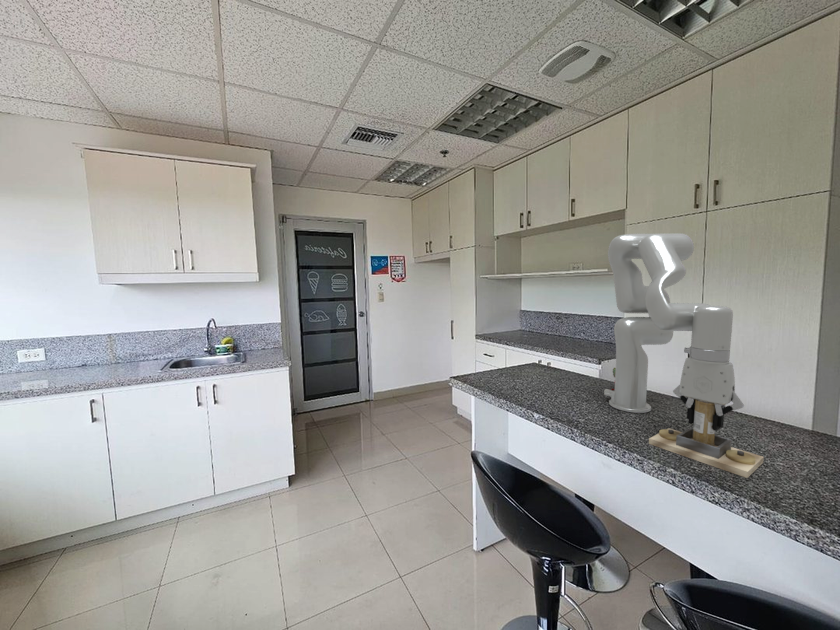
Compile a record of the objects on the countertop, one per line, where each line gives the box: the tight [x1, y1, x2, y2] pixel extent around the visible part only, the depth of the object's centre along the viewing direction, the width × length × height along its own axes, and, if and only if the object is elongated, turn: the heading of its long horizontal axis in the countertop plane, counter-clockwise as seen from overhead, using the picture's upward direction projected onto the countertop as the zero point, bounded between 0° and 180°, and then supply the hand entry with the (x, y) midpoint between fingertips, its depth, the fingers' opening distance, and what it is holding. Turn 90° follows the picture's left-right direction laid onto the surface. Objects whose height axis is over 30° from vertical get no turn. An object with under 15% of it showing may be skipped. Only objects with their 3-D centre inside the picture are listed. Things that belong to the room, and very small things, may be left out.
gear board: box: [648, 427, 765, 479], centre depth 89 cm, size 20×12×4 cm, turn 33°
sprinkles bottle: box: [692, 399, 716, 446], centre depth 88 cm, size 5×5×13 cm
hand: (704, 425), depth 88 cm, fingers closed on sprinkles bottle, 4 cm apart
